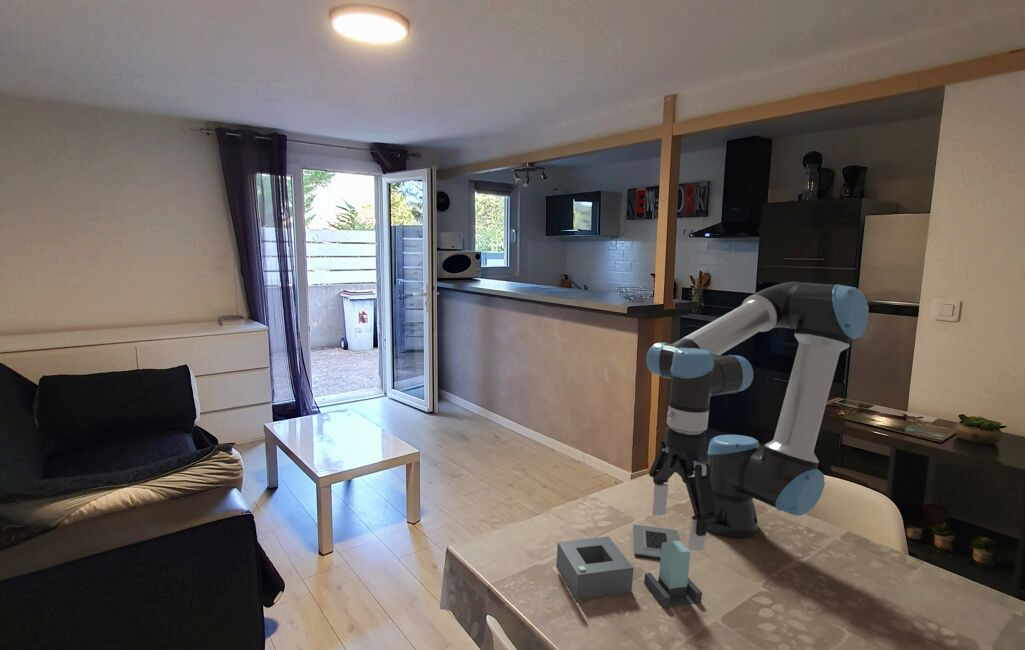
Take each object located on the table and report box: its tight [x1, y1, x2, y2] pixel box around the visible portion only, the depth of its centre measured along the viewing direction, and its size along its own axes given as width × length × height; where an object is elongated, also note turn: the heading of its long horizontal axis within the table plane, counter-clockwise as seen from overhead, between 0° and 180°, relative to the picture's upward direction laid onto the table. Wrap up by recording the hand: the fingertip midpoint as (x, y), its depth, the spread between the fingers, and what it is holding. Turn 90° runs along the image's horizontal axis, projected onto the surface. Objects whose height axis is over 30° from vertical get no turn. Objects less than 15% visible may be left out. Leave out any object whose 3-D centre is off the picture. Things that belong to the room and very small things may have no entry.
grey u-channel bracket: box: [643, 572, 703, 609], centre depth 109 cm, size 8×8×3 cm
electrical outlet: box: [632, 523, 680, 560], centre depth 127 cm, size 13×10×2 cm
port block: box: [556, 536, 634, 603], centre depth 113 cm, size 12×12×6 cm
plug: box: [657, 540, 691, 600], centre depth 109 cm, size 4×4×10 cm
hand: (676, 530), depth 107 cm, fingers open, 13 cm apart
